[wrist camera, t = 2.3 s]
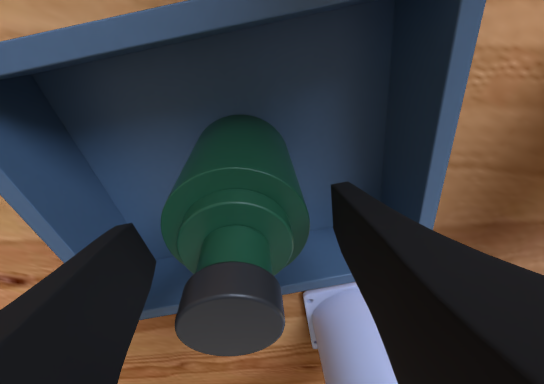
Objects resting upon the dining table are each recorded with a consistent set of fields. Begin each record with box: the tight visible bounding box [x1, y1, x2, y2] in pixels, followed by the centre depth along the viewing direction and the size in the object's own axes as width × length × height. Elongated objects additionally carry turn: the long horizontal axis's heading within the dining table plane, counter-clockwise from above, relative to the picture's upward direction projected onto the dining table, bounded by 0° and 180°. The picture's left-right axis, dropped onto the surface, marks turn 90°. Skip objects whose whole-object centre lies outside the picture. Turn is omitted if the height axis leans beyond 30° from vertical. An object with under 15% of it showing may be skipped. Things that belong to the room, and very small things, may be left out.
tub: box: [0, 0, 486, 320], centre depth 12 cm, size 18×14×5 cm
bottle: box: [160, 115, 310, 356], centre depth 10 cm, size 5×5×9 cm
